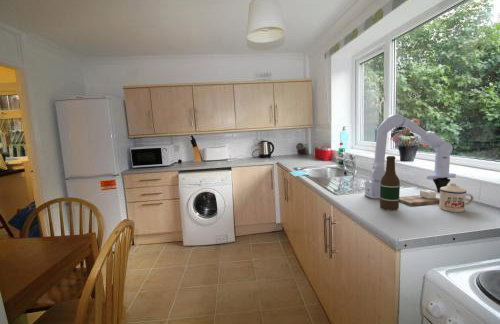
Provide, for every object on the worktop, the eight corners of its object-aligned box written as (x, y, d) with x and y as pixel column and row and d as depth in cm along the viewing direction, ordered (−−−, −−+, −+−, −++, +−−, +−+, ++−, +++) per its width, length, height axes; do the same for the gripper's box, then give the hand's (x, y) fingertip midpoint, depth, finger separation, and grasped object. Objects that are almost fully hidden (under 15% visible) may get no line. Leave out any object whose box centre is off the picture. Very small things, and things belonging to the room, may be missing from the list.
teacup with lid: (443, 211, 106) (444, 185, 104) (435, 205, 114) (436, 180, 113) (478, 213, 102) (480, 186, 100) (467, 207, 110) (469, 181, 109)
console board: (410, 206, 115) (410, 202, 115) (394, 200, 125) (394, 197, 125) (443, 202, 118) (443, 199, 118) (425, 197, 128) (425, 194, 127)
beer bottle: (396, 206, 116) (398, 155, 113) (401, 211, 108) (403, 157, 105) (378, 205, 118) (379, 155, 115) (381, 210, 111) (382, 157, 108)
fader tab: (428, 198, 119) (428, 192, 119) (419, 195, 124) (420, 189, 124) (435, 197, 120) (436, 191, 119) (426, 195, 125) (427, 189, 124)
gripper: (436, 167, 116) (435, 195, 118) (462, 165, 118) (461, 193, 120) (423, 165, 123) (422, 192, 125) (448, 164, 125) (447, 190, 127)
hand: (440, 192), depth 123 cm, fingers closed
